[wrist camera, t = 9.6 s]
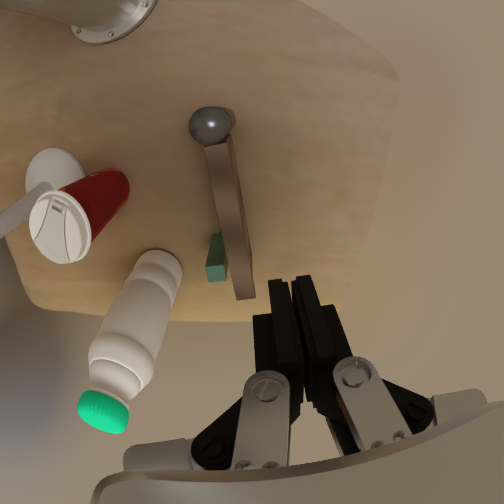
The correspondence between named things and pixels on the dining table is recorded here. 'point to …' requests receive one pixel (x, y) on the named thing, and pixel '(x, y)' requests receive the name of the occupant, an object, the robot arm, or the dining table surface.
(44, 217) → the paper cup
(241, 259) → the gate
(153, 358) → the water bottle
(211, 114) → the gate posts
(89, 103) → the dining table surface
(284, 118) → the dining table surface
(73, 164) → the candlestick
